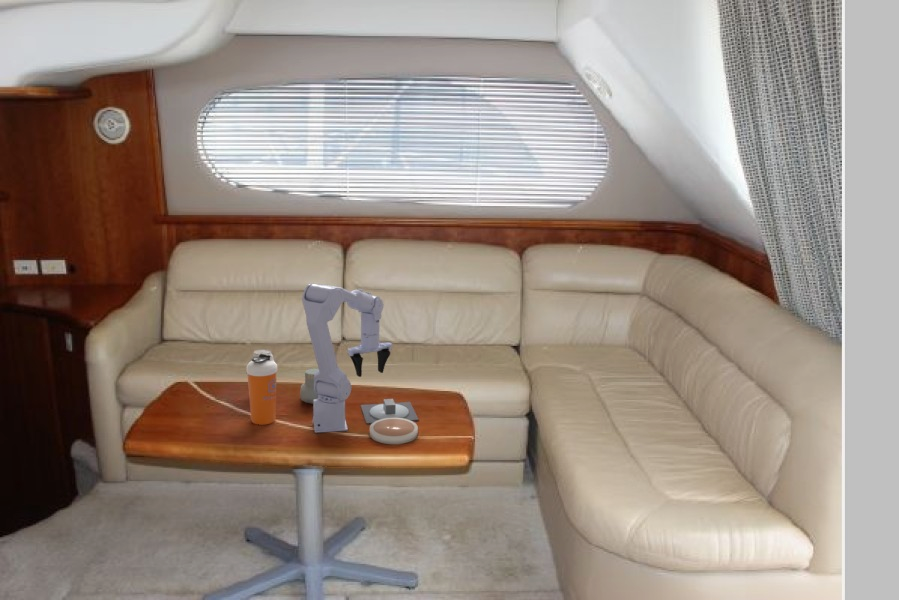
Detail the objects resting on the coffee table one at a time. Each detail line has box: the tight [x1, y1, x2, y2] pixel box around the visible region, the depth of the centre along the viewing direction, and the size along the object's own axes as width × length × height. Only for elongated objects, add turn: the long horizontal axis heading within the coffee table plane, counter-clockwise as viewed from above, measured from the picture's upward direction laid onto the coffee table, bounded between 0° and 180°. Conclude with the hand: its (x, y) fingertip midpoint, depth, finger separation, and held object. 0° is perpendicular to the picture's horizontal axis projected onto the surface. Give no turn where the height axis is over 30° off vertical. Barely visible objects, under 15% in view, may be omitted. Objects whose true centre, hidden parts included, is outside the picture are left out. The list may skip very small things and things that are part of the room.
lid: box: [370, 398, 409, 420], centre depth 226 cm, size 12×12×4 cm
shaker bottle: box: [245, 354, 278, 426], centre depth 216 cm, size 9×9×20 cm
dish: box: [369, 418, 419, 445], centre depth 212 cm, size 14×14×2 cm
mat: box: [360, 401, 420, 425], centre depth 227 cm, size 16×14×1 cm
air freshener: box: [299, 368, 319, 405], centre depth 233 cm, size 11×8×10 cm
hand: (369, 373), depth 230 cm, fingers open, 7 cm apart
